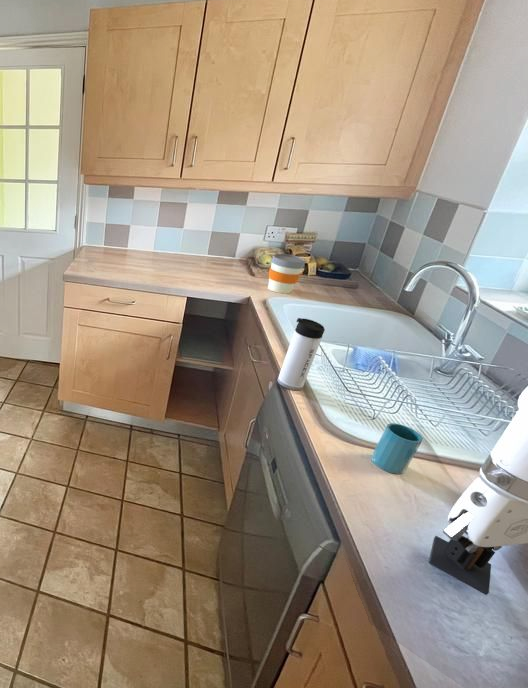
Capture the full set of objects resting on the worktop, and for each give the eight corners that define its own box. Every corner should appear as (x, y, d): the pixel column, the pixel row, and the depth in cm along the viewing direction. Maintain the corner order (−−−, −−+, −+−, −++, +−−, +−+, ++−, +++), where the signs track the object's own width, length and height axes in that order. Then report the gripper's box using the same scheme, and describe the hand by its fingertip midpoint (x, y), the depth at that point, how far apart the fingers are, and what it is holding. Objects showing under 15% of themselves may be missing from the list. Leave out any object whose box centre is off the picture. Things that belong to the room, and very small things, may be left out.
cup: (399, 459, 93) (416, 428, 89) (408, 478, 88) (427, 445, 84) (367, 451, 95) (383, 420, 91) (375, 468, 90) (392, 436, 87)
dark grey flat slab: (433, 538, 73) (446, 517, 71) (489, 567, 68) (505, 546, 66) (428, 563, 69) (442, 542, 67) (486, 595, 64) (503, 574, 62)
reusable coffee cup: (269, 282, 195) (279, 251, 188) (299, 290, 186) (310, 259, 180) (258, 288, 187) (268, 256, 181) (289, 297, 178) (300, 264, 172)
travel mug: (277, 375, 123) (298, 314, 114) (303, 383, 119) (326, 321, 111) (274, 384, 118) (296, 322, 110) (301, 393, 115) (326, 330, 106)
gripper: (501, 504, 56) (441, 588, 64) (603, 495, 58) (533, 578, 65) (444, 462, 63) (396, 542, 71) (537, 455, 65) (480, 535, 72)
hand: (462, 559), depth 68 cm, fingers closed on dark grey flat slab, 2 cm apart
